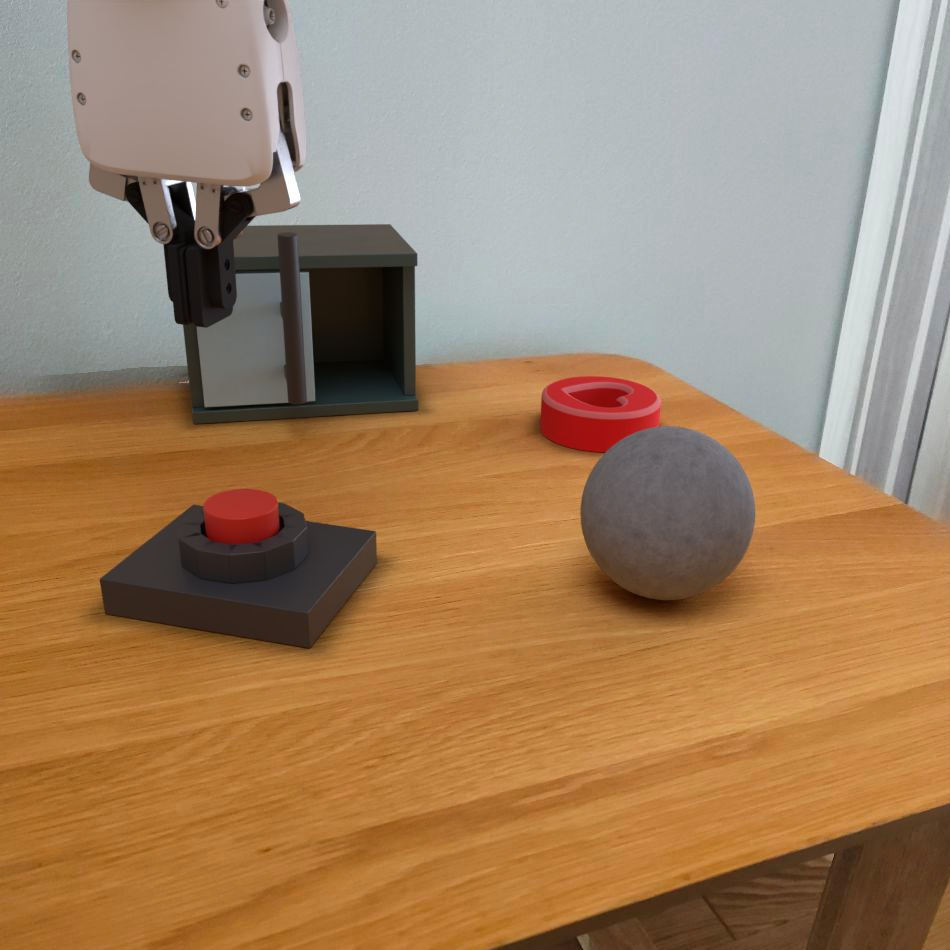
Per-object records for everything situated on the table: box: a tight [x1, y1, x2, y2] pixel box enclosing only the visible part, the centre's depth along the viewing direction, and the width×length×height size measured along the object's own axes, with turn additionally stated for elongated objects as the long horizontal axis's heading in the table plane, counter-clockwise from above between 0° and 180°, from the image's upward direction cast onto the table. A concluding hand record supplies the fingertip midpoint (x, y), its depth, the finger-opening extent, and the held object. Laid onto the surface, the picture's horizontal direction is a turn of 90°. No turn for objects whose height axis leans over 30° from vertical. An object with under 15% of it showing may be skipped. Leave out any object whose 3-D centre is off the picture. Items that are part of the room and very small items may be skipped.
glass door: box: [196, 232, 315, 407], centre depth 79 cm, size 9×6×14 cm
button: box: [202, 488, 280, 545], centre depth 59 cm, size 4×4×2 cm
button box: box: [99, 501, 378, 649], centre depth 60 cm, size 12×10×4 cm
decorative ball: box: [579, 425, 756, 601], centre depth 61 cm, size 10×10×10 cm
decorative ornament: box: [539, 375, 662, 453], centre depth 86 cm, size 10×10×3 cm
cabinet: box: [182, 223, 419, 425], centre depth 88 cm, size 18×12×13 cm, turn 107°
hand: (204, 318), depth 55 cm, fingers closed
